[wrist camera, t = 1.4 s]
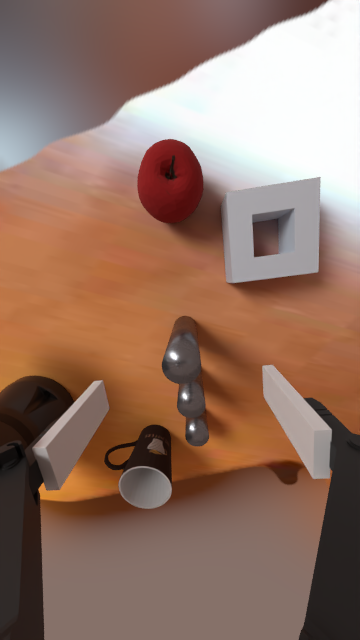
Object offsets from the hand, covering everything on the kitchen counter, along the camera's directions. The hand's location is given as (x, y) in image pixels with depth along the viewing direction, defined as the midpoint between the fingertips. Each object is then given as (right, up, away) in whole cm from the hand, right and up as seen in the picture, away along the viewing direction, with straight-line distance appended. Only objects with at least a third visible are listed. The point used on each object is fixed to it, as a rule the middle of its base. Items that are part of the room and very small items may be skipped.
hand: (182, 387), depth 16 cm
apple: (-1, +25, +15) cm, 29 cm away
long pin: (+1, +4, +20) cm, 20 cm away
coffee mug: (-6, -18, +25) cm, 32 cm away
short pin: (+3, -13, +23) cm, 27 cm away
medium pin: (+2, -4, +21) cm, 22 cm away
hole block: (+13, +18, +16) cm, 28 cm away
